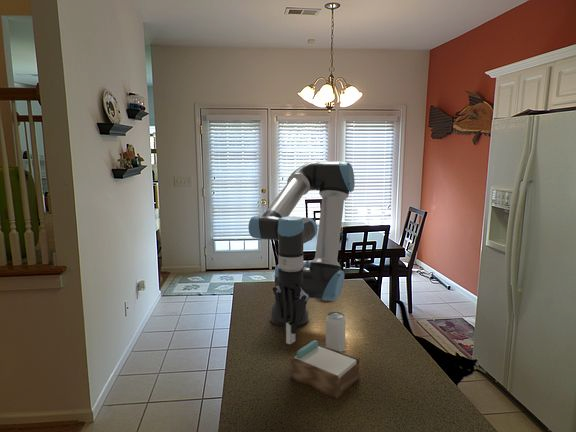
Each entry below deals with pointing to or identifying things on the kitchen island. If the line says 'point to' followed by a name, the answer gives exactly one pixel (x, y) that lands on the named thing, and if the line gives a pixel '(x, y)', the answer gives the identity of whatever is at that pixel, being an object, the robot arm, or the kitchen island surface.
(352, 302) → the kitchen island surface
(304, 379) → the box
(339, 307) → the kitchen island surface
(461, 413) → the kitchen island surface
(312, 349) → the lid
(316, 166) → the robot arm
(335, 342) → the can
